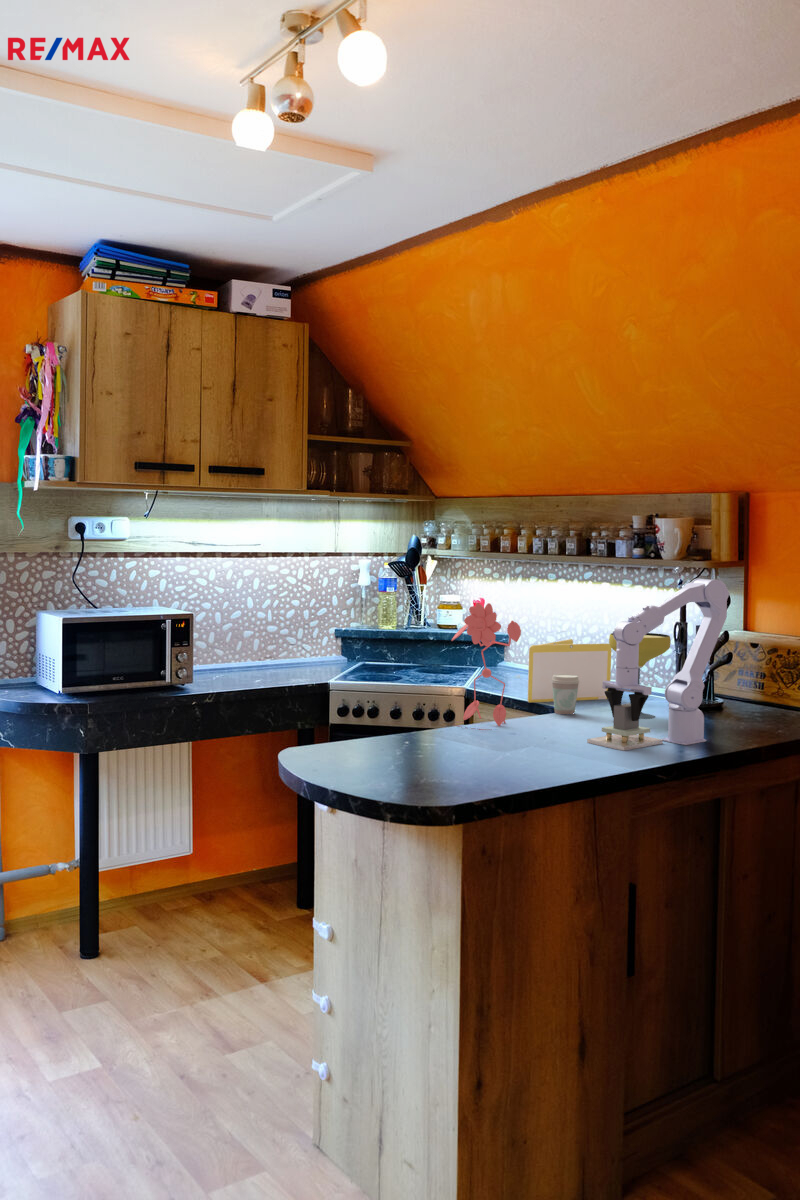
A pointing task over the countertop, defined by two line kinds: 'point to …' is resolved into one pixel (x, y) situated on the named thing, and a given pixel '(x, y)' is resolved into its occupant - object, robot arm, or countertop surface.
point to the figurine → (483, 629)
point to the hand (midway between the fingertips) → (625, 719)
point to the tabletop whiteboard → (568, 668)
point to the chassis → (624, 741)
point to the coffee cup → (565, 693)
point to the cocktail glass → (647, 653)
